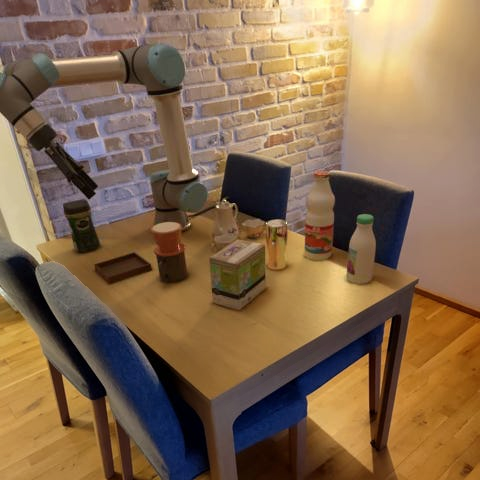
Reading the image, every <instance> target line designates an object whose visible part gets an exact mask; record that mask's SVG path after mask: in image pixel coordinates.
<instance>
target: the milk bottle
mask: <svg viewBox="0 0 480 480" xmlns="http://www.w3.org/2000/svg"><path fill="white" fill-rule="evenodd" d="M374 220H375V218H374V216H373V215H372V214H368V213H362V214H359V215H357V217H356V228H355V230H354V232H353V234H352V236H351V238H350V240H349V243H348V244H349V245H348V254H347V265H346V280H347V281H348V282H350V283H353V284H358V285H364V284H368V283H370V282H371V281H372V279H373V275H374V266H375V258H376V246H377V241H376V236H375V234H374V231H373V225H374Z"/></svg>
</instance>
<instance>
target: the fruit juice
mask: <svg viewBox="0 0 480 480" xmlns="http://www.w3.org/2000/svg"><path fill="white" fill-rule="evenodd" d="M330 173H331V172H329V171H326V170H318V171H317V170H316V171H315V172H314V173H313V179H314V180H313V183H312V186H311V189H310V190H309V192H308V195H307V196H306V201H305V203H306V204H305V205H306V207H307V209H306V213H305V217H304V218H305V219H304V220H305V221H304V222H305V223H304V255H305V257H306V258H307V259H309V260H313V261H322V260H323V261H324V260H327V259H330V258H331V257H332V254H333V243H334V228H335V211H334V207H335V203H336V198H335V195H334V193H333V191H332V188H331V183H330V180H329V179H330V177H331V175H330Z"/></svg>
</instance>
